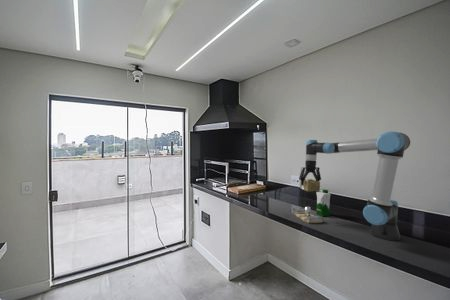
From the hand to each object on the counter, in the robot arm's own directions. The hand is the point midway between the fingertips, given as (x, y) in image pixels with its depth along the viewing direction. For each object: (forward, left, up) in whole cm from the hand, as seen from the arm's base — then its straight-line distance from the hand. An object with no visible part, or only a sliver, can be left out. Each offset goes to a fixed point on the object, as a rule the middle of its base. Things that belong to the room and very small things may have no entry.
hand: (309, 189), depth 157 cm
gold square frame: (0, 0, 0) cm, 0 cm away
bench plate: (+1, +1, -22) cm, 22 cm away
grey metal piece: (+1, +1, -21) cm, 21 cm away
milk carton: (+6, -16, -23) cm, 29 cm away
